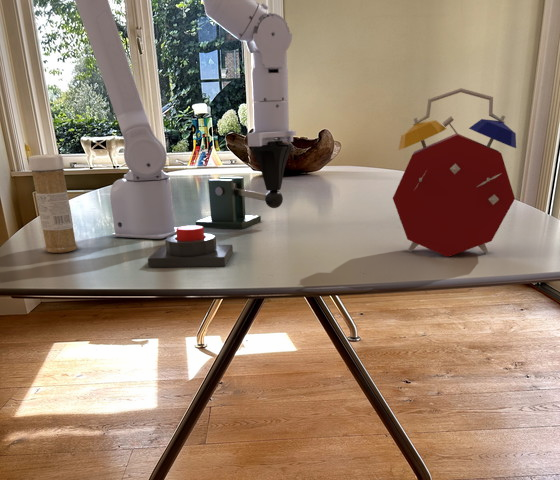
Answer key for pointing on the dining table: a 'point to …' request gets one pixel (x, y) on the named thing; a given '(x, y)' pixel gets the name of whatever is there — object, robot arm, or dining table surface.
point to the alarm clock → (454, 184)
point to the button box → (191, 253)
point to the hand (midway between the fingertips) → (273, 190)
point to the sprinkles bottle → (53, 202)
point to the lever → (261, 196)
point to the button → (190, 233)
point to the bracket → (227, 205)
